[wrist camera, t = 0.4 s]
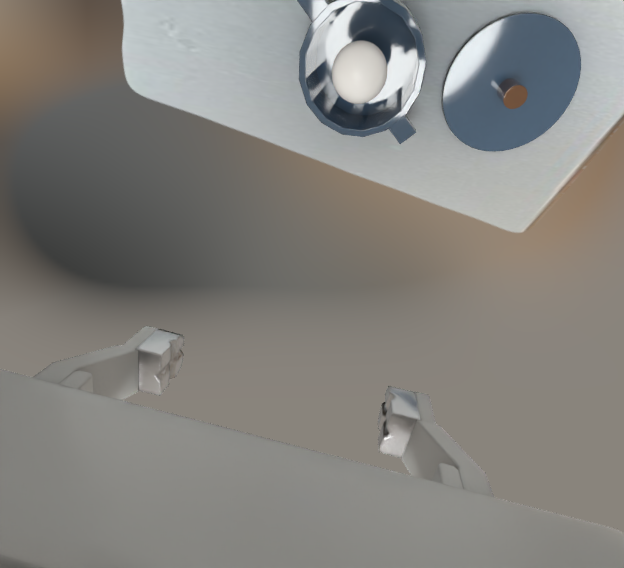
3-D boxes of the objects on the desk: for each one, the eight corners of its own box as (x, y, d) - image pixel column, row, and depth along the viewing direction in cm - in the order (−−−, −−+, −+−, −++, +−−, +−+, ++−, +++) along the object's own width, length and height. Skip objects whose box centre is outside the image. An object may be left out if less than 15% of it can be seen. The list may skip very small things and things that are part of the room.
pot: (363, -66, 41) (357, -74, 36) (455, 87, 49) (462, 100, 43) (275, 36, 49) (258, 43, 44) (366, 155, 57) (361, 174, 51)
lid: (544, -24, 41) (560, -25, 37) (597, 96, 46) (616, 107, 42) (419, 79, 49) (420, 88, 45) (477, 170, 55) (483, 185, 51)
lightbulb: (388, 88, 50) (384, 109, 42) (341, 89, 51) (328, 110, 43) (391, 31, 46) (388, 42, 38) (340, 34, 47) (326, 45, 39)
